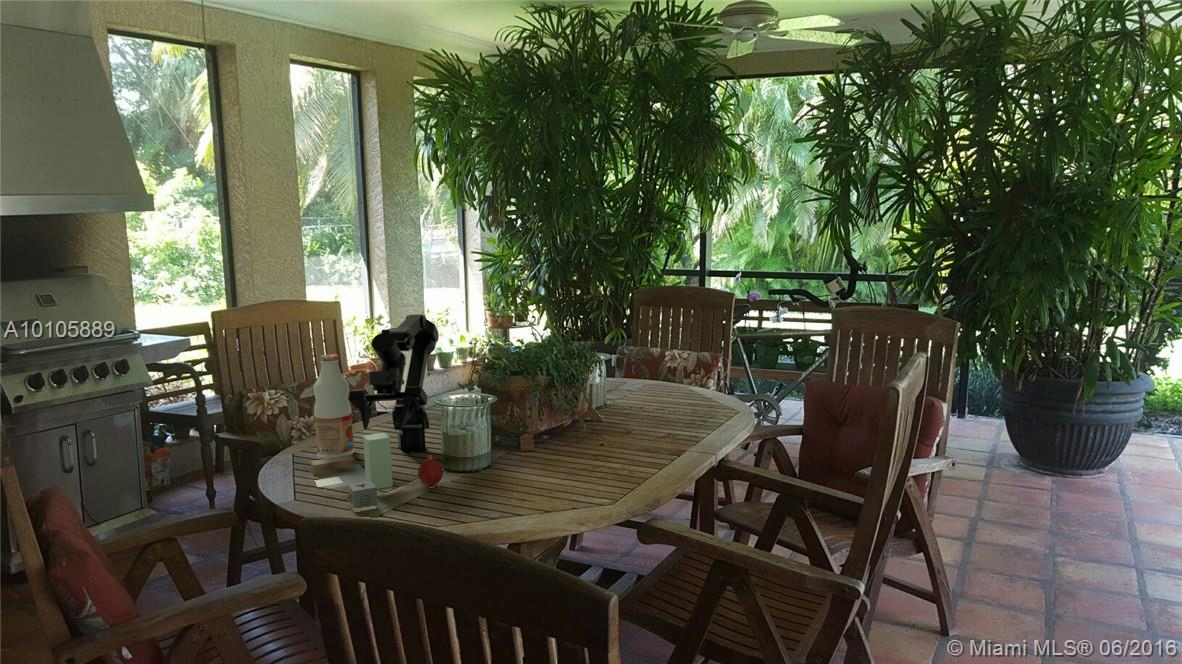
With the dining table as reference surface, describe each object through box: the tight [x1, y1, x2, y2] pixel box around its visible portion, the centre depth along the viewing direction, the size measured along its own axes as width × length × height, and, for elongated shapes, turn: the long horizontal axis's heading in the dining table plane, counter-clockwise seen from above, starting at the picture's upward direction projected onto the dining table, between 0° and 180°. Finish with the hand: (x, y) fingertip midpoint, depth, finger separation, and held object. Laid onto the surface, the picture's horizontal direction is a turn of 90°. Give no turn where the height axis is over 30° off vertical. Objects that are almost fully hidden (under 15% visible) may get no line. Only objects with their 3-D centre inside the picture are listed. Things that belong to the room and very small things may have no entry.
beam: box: [309, 454, 356, 477], centre depth 206 cm, size 10×4×3 cm, turn 119°
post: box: [362, 432, 394, 491], centre depth 194 cm, size 5×5×13 cm
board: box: [314, 463, 366, 490], centre depth 202 cm, size 14×16×1 cm
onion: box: [417, 454, 444, 488], centre depth 196 cm, size 6×6×8 cm
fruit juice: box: [312, 353, 355, 459], centre depth 220 cm, size 9×9×28 cm
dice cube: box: [347, 481, 378, 508], centre depth 183 cm, size 5×5×5 cm
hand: (383, 428), depth 202 cm, fingers open, 9 cm apart
